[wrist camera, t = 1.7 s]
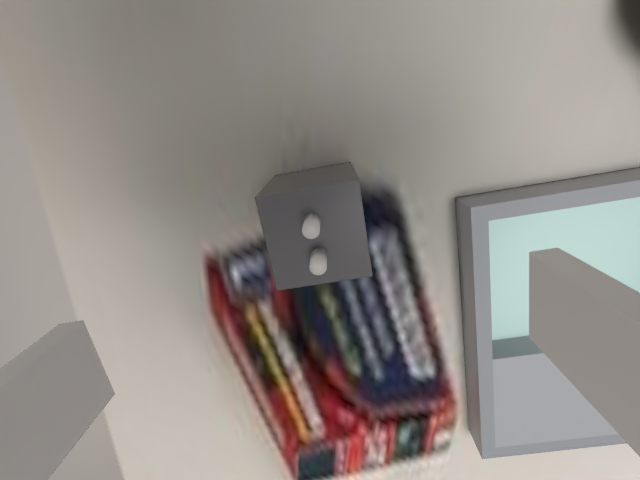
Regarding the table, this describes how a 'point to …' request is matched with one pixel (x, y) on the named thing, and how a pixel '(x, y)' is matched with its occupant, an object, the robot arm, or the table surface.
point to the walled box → (513, 305)
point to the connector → (315, 226)
